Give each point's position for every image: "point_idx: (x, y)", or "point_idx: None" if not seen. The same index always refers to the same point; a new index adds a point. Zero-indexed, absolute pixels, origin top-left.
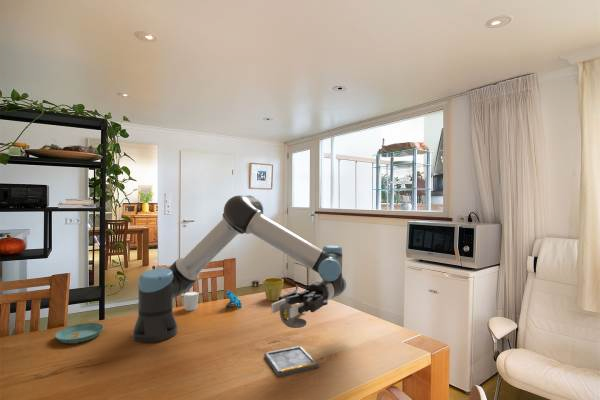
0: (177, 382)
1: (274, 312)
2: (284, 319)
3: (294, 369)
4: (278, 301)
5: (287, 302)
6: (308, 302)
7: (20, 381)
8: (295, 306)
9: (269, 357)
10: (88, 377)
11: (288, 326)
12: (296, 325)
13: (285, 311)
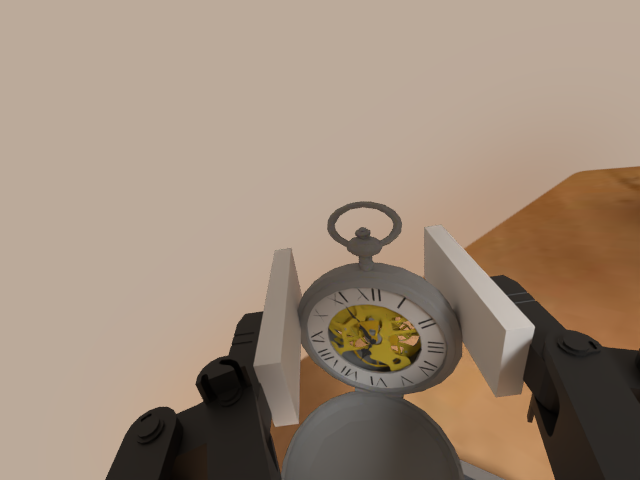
0: (495, 266)
1: (428, 281)
2: (415, 381)
3: None
4: (471, 264)
5: (360, 261)
6: (213, 435)
7: (616, 173)
8: (276, 278)
9: (472, 470)
10: (595, 205)
11: (368, 396)
12: (351, 465)
13: (399, 332)
